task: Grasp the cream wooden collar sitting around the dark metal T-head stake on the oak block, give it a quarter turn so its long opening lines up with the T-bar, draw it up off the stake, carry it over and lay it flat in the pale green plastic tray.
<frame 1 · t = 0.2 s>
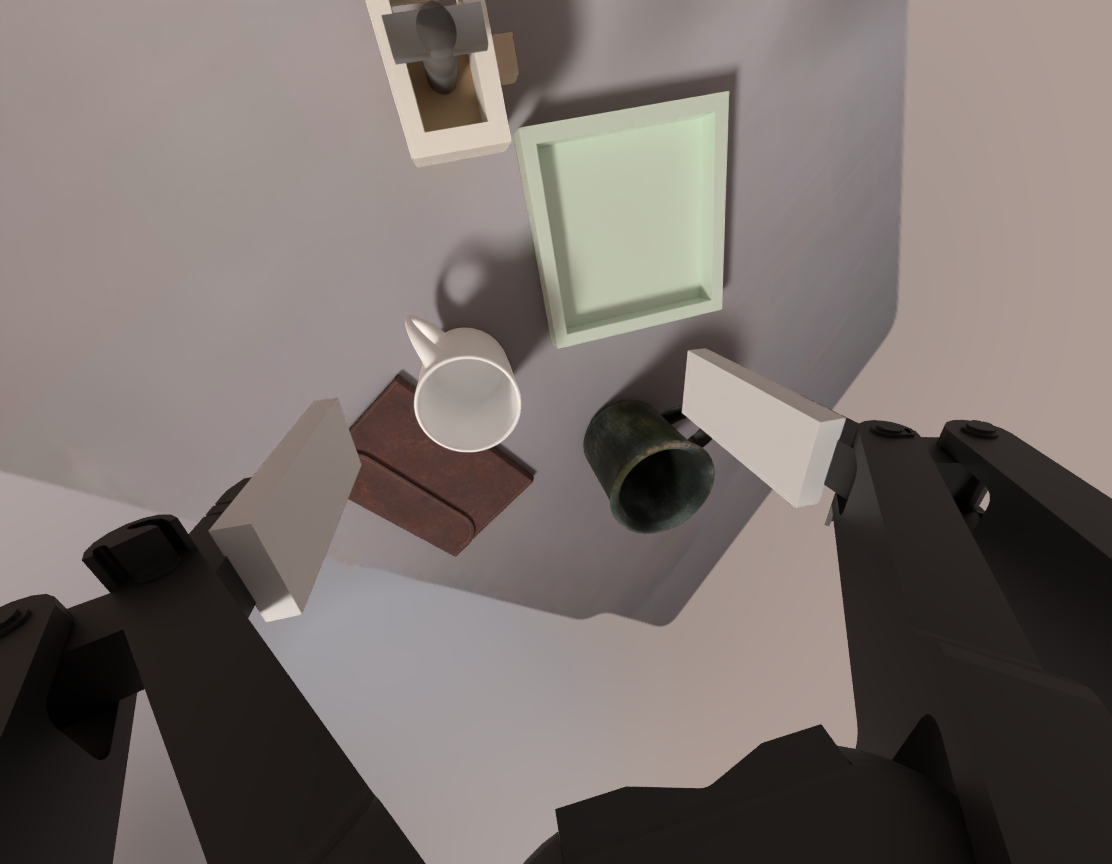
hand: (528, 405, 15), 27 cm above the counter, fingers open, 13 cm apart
ring: (441, 75, 26), point 6 cm above the counter, touching stake
tray: (623, 231, 39), on the counter
mug 2: (630, 426, 50), on the counter
notebook: (429, 470, 47), on the counter
stake: (444, 100, 31), on the counter
mug: (456, 353, 41), on the counter
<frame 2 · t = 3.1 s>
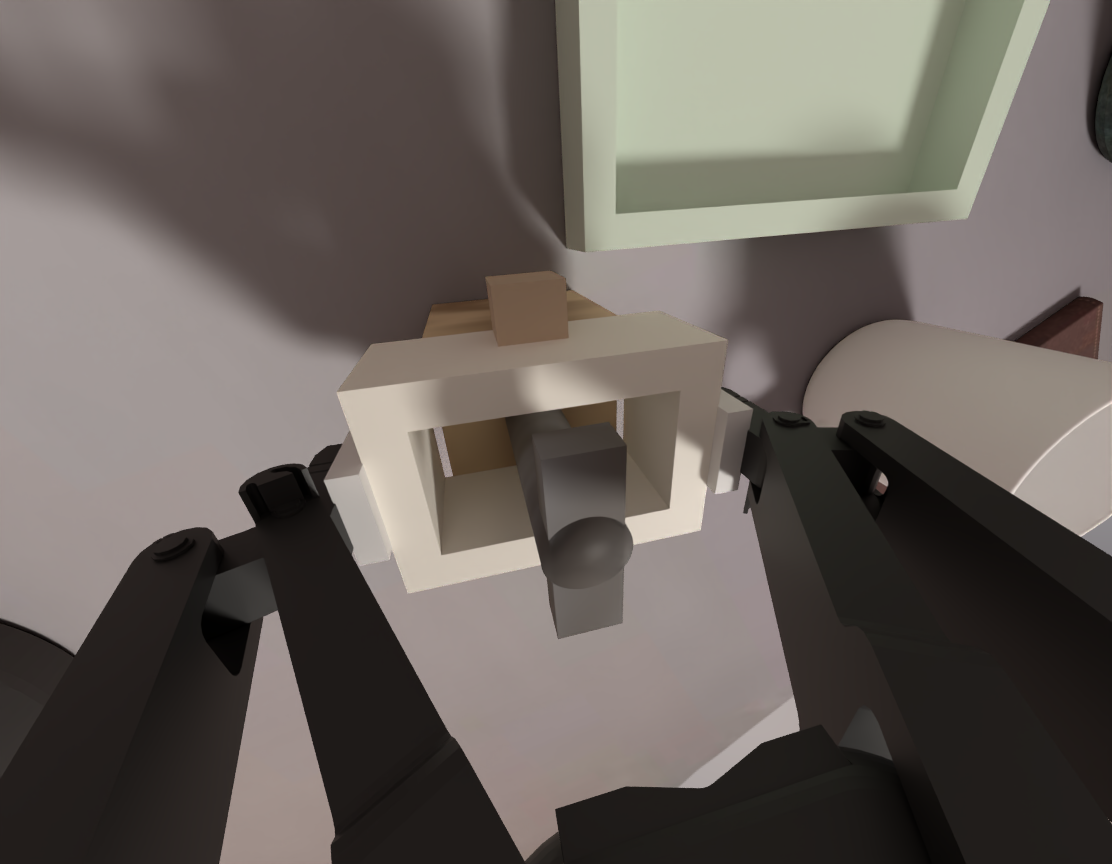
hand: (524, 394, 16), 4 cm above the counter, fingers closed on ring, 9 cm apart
ring: (532, 415, 14), point 6 cm above the counter, touching gripper, stake
notebook: (944, 454, 31), on the counter
stake: (512, 364, 20), on the counter
mug: (830, 397, 25), on the counter
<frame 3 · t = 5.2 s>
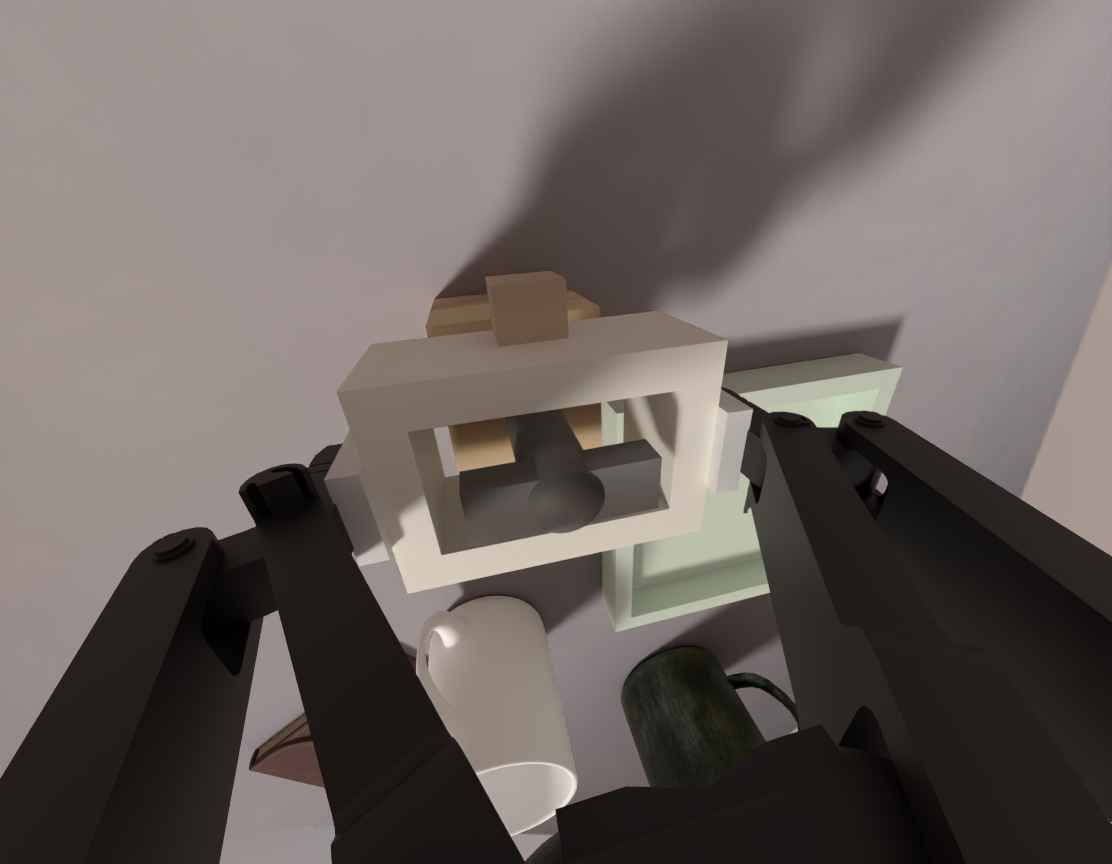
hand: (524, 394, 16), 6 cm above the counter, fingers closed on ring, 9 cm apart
ring: (532, 415, 14), point 8 cm above the counter, touching gripper
tray: (718, 488, 29), on the counter
mug 2: (679, 666, 40), on the counter
notebook: (419, 727, 36), on the counter
stake: (508, 354, 21), on the counter
mug: (475, 617, 30), on the counter
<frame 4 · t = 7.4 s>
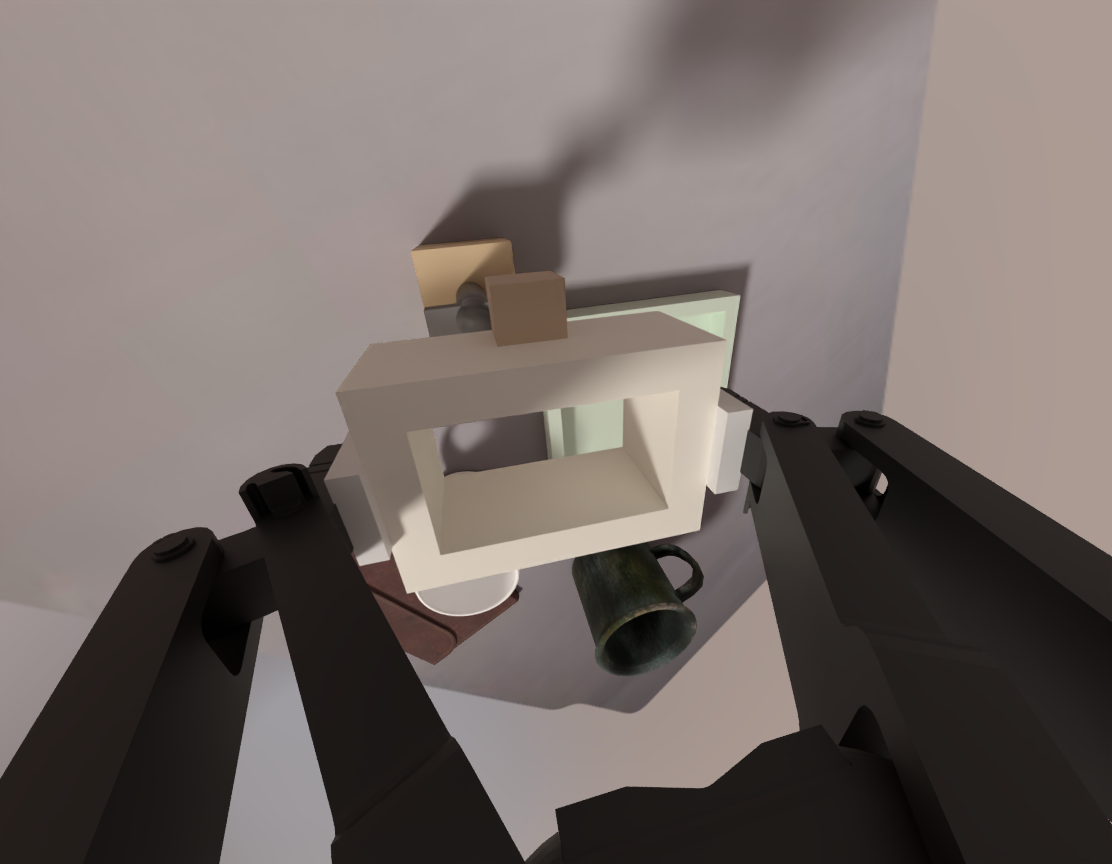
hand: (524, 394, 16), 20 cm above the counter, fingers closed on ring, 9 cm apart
ring: (532, 415, 14), point 22 cm above the counter, touching gripper
tray: (629, 392, 40), on the counter
mug 2: (618, 549, 51), on the counter
notebook: (416, 587, 47), on the counter
stake: (468, 284, 32), on the counter
mug: (456, 490, 41), on the counter
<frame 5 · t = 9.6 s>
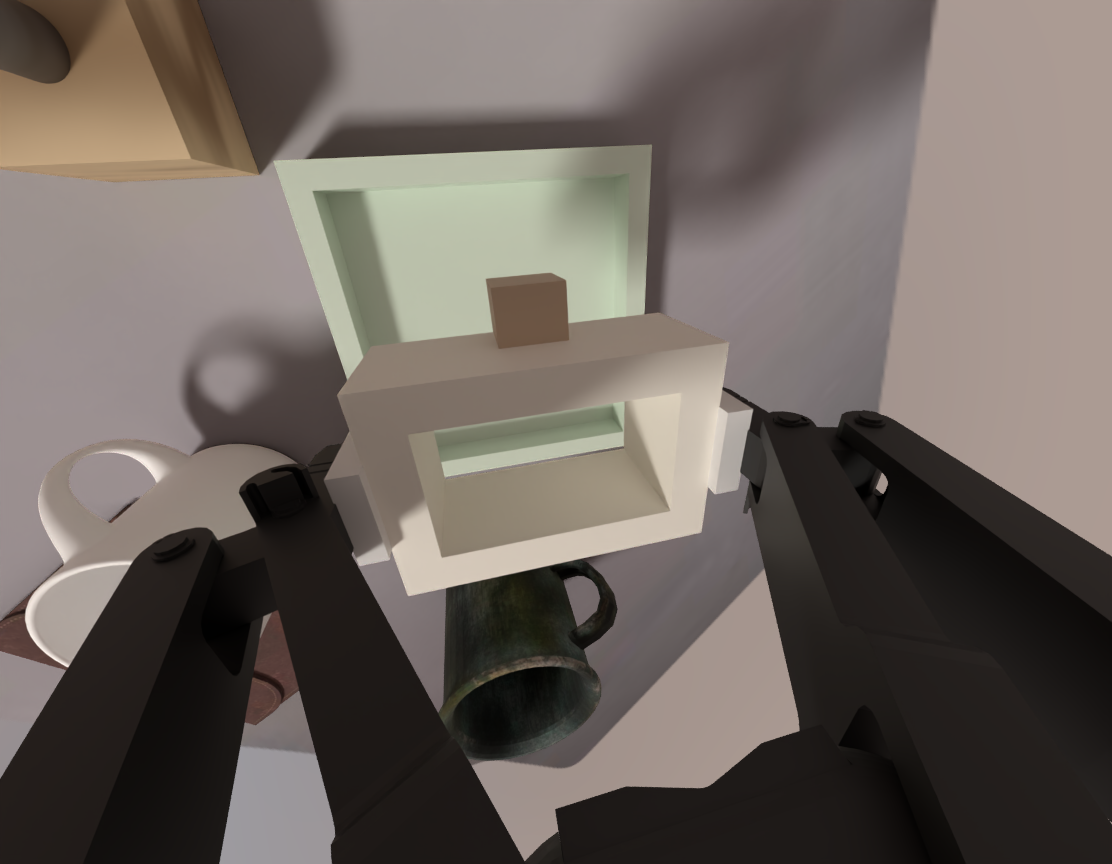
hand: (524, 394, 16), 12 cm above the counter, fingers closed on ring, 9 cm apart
ring: (533, 417, 14), point 14 cm above the counter, touching gripper
tray: (496, 325, 26), on the counter
mug 2: (517, 564, 37), on the counter
notebook: (211, 618, 32), on the counter
stake: (152, 94, 18), on the counter
mug: (233, 474, 27), on the counter
when the fingers open (2 cm above the counter, at t = 11.5 s): ring drops 3 cm, resting on tray.
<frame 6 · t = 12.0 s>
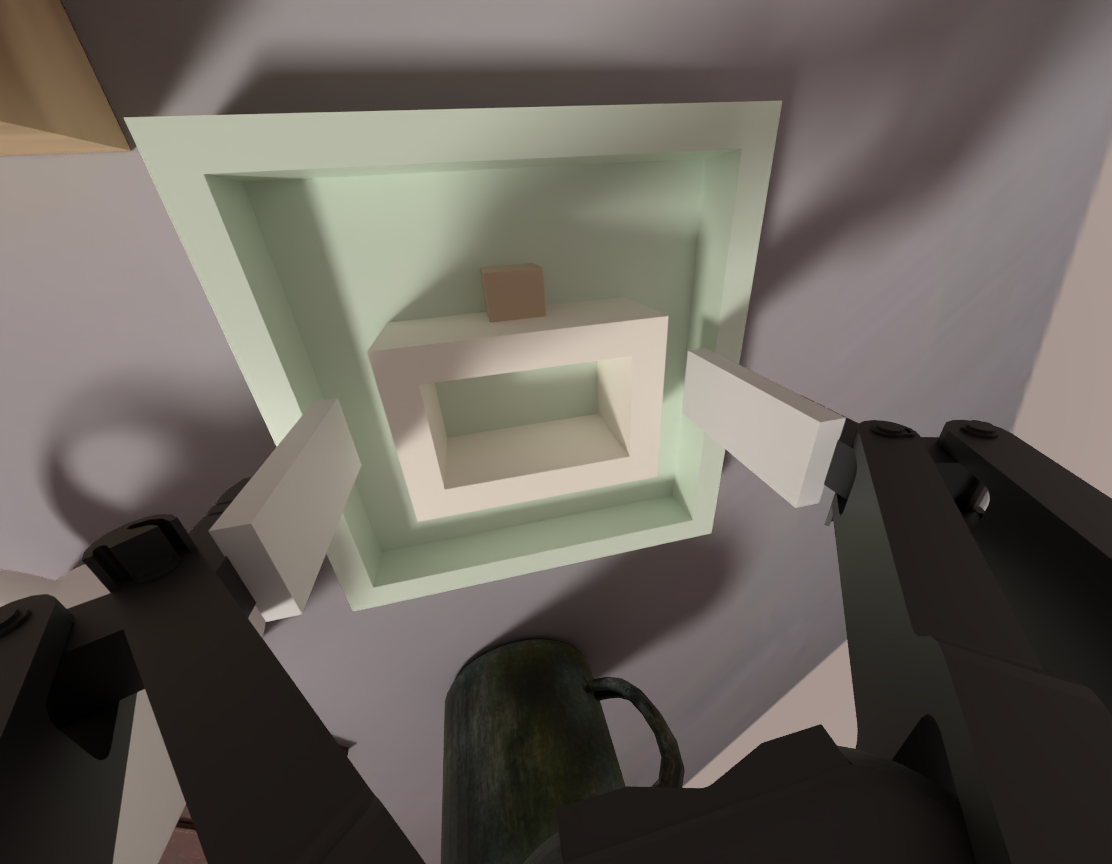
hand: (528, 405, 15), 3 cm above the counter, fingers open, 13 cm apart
ring: (520, 384, 17), point 1 cm above the counter, touching tray
tray: (517, 377, 18), on the counter
mug 2: (536, 667, 28), on the counter
notebook: (129, 756, 24), on the counter
mug: (139, 588, 19), on the counter
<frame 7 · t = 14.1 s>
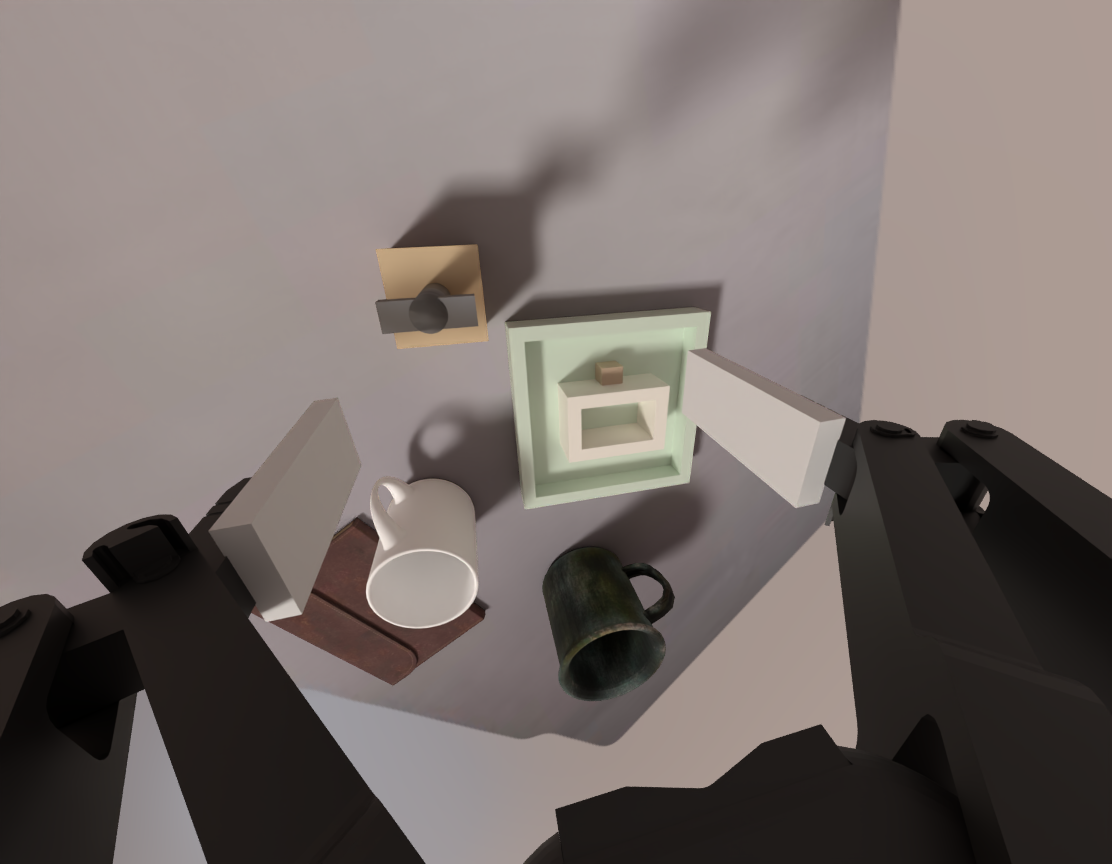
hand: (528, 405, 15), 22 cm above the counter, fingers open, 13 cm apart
ring: (604, 408, 39), point 1 cm above the counter, touching tray
tray: (602, 405, 40), on the counter
mug 2: (591, 567, 50), on the counter
notebook: (378, 601, 45), on the counter
stake: (440, 289, 32), on the counter
mug: (423, 498, 40), on the counter
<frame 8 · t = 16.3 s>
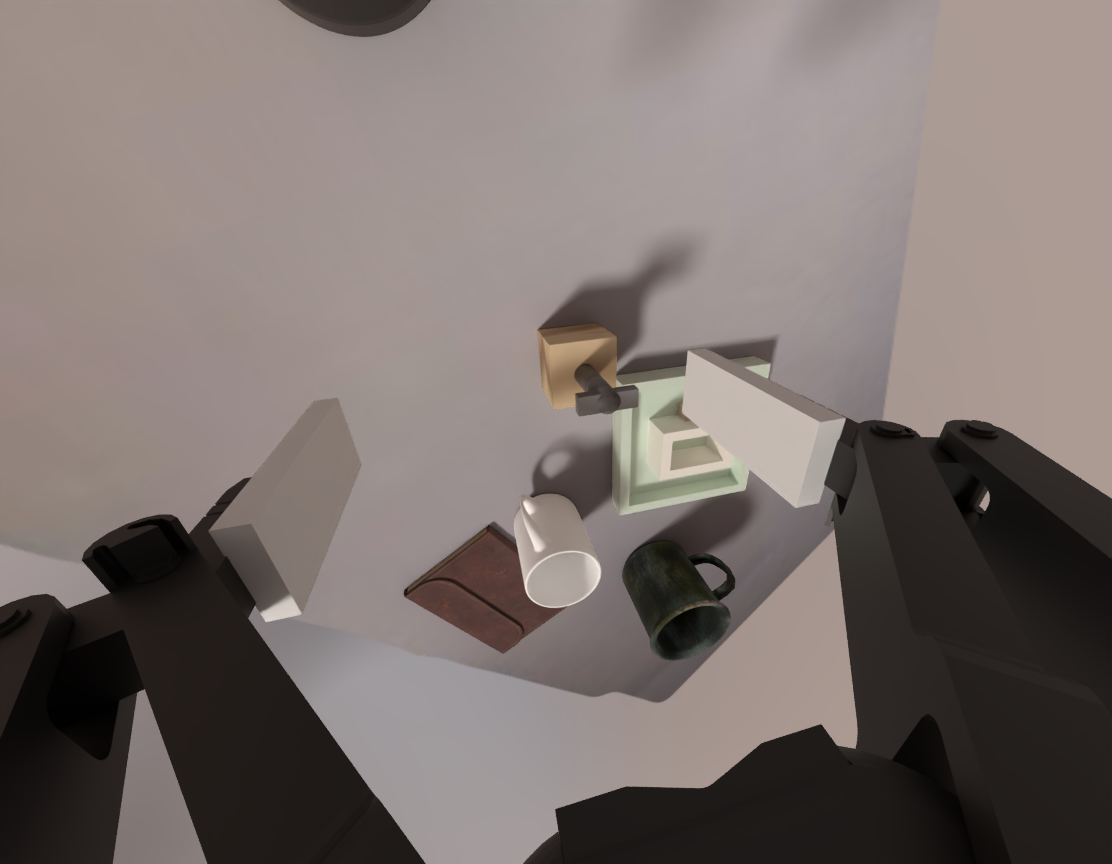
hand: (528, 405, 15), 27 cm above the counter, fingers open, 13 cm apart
ring: (682, 435, 50), point 1 cm above the counter, touching tray
tray: (679, 432, 51), on the counter
mug 2: (660, 557, 61), on the counter
notebook: (495, 588, 57), on the counter
stake: (569, 356, 43), on the counter
mug: (538, 508, 52), on the counter
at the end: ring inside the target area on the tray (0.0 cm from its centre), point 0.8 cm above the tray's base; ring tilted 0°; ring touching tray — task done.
